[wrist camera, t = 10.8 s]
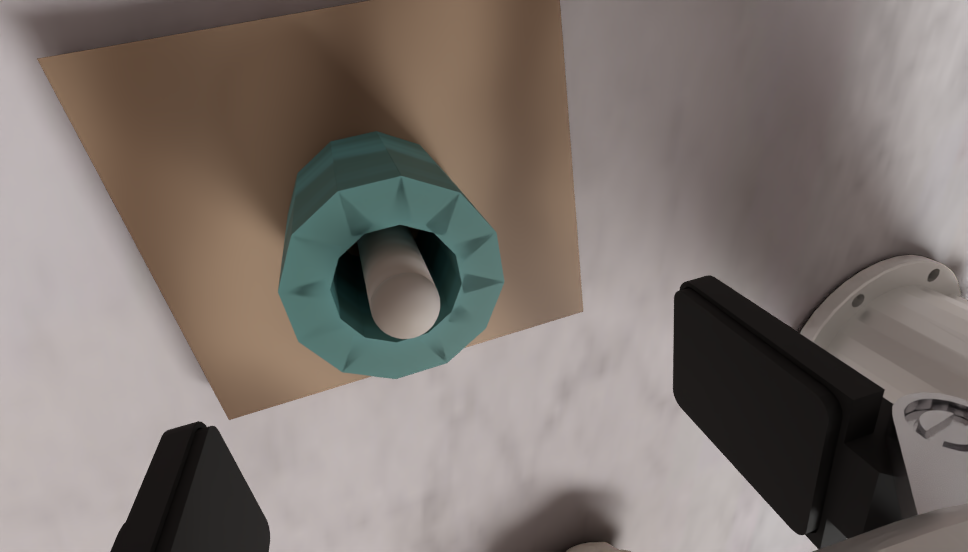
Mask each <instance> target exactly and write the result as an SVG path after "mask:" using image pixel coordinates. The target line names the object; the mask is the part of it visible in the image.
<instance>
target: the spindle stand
mask: <svg viewBox="0 0 968 552" xmlns="http://www.w3.org/2000/svg"><path fill="white" fill-rule="evenodd" d="M37 60H38V61H39V63H40V65H41V67H42V69H43V71H44V73H45V75H46V76H47V78H48V80H49V82H50V84H51V86H52V88H53V90H54V92H55V93H56V95H57V97H58V99H59V101H60V103H61V105H62V107H63V108H64V110H65V112H66V114H67V116H68V118H69V120H70V122H71V124H72V125H73V127H74V129H75V131H76V133H77V135H78V137H79V139H80V140H81V142H82V144H83V146H84V148H85V150H86V152H87V154H88V156H89V157H90V159H91V161H92V163H93V165H94V167H95V169H96V171H97V172H98V174H99V176H100V178H101V180H102V182H103V184H104V186H105V188H106V189H107V191H108V193H109V195H110V197H111V199H112V201H113V203H114V204H115V206H116V208H117V210H118V212H119V214H120V216H121V218H122V220H123V221H124V223H125V225H126V227H127V229H128V231H129V233H130V235H131V236H132V238H133V240H134V242H135V244H136V246H137V248H138V250H139V251H140V253H141V255H142V257H143V259H144V261H145V263H146V265H147V267H148V268H149V270H150V272H151V274H152V276H153V278H154V280H155V282H156V283H157V285H158V287H159V289H160V291H161V293H162V295H163V297H164V299H165V300H166V302H167V304H168V306H169V308H170V310H171V312H172V314H173V315H174V317H175V319H176V321H177V323H178V325H179V327H180V329H181V331H182V332H183V334H184V336H185V338H186V340H187V342H188V344H189V346H190V347H191V349H192V351H193V353H194V355H195V357H196V359H197V361H198V363H199V364H200V366H201V368H202V370H203V372H204V374H205V376H206V378H207V379H208V381H209V383H210V385H211V387H212V389H213V391H214V393H215V395H216V396H217V398H218V400H219V402H220V404H221V406H222V408H223V410H224V411H225V413H226V415H227V417H228V419H229V420H231V419H234V418H237V417H241V416H244V415H247V414H250V413H254V412H257V411H260V410H263V409H267V408H270V407H273V406H276V405H280V404H283V403H286V402H289V401H293V400H296V399H299V398H303V397H306V396H309V395H312V394H316V393H319V392H322V391H325V390H329V389H332V388H335V387H338V386H342V385H345V384H348V383H351V382H355V381H358V380H361V379H364V378H368V377H371V376H367V375H359V374H351V373H343V372H341V371H339V370H338V369H337V368H335V367H334V366H332V365H331V364H329V363H328V362H327V361H325V360H324V359H322V358H321V357H319V356H318V355H316V354H315V353H314V352H312V351H311V350H309V349H308V348H306V347H305V346H303V345H302V344H301V343H299V342H298V340H297V338H296V335H295V333H294V330H293V328H292V325H291V323H290V321H289V318H288V316H287V313H286V311H285V308H284V306H283V303H282V301H281V299H280V296H279V294H278V286H279V279H280V271H281V263H282V255H283V247H284V239H285V232H286V224H287V216H288V212H289V207H290V203H291V199H292V194H293V190H294V186H295V181H296V177H297V173H298V172H299V171H300V170H301V169H302V168H303V167H304V166H306V165H307V164H308V163H309V162H310V161H311V160H312V159H313V158H314V157H315V156H316V155H317V154H318V153H319V152H320V151H321V150H322V149H323V148H324V147H325V146H326V145H327V144H328V143H329V142H331V141H335V140H339V139H344V138H348V137H352V136H357V135H361V134H366V133H370V132H375V131H378V132H381V133H384V134H387V135H390V136H394V137H397V138H400V139H403V140H406V141H410V142H413V143H416V144H419V145H421V147H422V148H423V149H424V150H425V151H426V152H427V153H428V154H429V155H430V156H431V158H432V159H433V160H434V161H435V162H436V163H437V164H438V165H439V166H440V167H441V169H442V170H443V171H444V172H445V173H446V174H447V175H448V176H449V177H450V179H451V180H452V181H453V182H454V183H455V184H456V186H457V187H458V188H459V189H460V190H461V191H462V193H463V194H464V195H465V196H466V197H467V198H468V200H469V201H470V202H471V203H472V204H473V206H474V207H475V208H476V209H477V210H478V211H479V213H480V214H481V215H482V216H483V217H484V218H485V220H486V221H487V222H488V223H489V224H490V225H491V227H492V228H493V229H494V230H495V231H496V232H497V238H498V244H499V251H500V257H501V263H502V269H503V275H504V285H503V287H502V290H501V292H500V295H499V297H498V300H497V302H496V305H495V307H494V310H493V312H492V315H491V317H490V320H489V322H488V325H487V327H486V329H485V330H484V331H483V332H482V333H480V334H479V335H478V336H477V337H476V338H475V339H474V340H472V341H471V342H470V343H469V344H468V345H467V346H466V347H469V346H472V345H475V344H479V343H482V342H485V341H488V340H492V339H495V338H498V337H501V336H505V335H508V334H511V333H514V332H518V331H521V330H524V329H528V328H531V327H534V326H537V325H541V324H544V323H547V322H550V321H554V320H557V319H560V318H563V317H567V316H570V315H573V314H576V313H580V312H583V302H582V289H581V275H580V262H579V249H578V236H577V222H576V209H575V196H574V183H573V169H572V156H571V143H570V130H569V116H568V103H567V90H566V76H565V63H564V50H563V37H562V23H561V10H560V0H369V1H363V2H357V3H352V4H346V5H340V6H335V7H329V8H323V9H318V10H312V11H306V12H301V13H295V14H289V15H283V16H278V17H272V18H266V19H261V20H255V21H249V22H244V23H238V24H232V25H227V26H221V27H215V28H210V29H204V30H198V31H192V32H187V33H181V34H175V35H170V36H164V37H158V38H153V39H147V40H141V41H136V42H130V43H124V44H118V45H113V46H107V47H101V48H96V49H90V50H84V51H79V52H73V53H67V54H62V55H56V56H50V57H44V58H39V59H37ZM418 231H419V229H416V228H412V227H408V226H404V225H396V226H393V227H389V228H385V229H381V230H377V231H373V232H369V233H366V234H364V235H363V236H362V237H361V238H360V239H359V240H357V241H356V242H355V243H354V244H353V245H352V246H351V247H350V248H349V249H348V250H347V251H348V252H349V253H350V254H351V255H355V256H360V259H361V264H362V269H363V274H364V280H365V285H366V290H367V295H368V300H369V305H370V310H371V314H372V317H373V319H374V321H375V323H376V324H377V326H378V327H379V328H380V329H381V330H382V331H383V332H385V333H386V334H388V335H390V336H392V337H395V338H399V339H411V338H415V337H418V336H420V335H422V334H424V333H425V332H427V331H428V330H429V329H430V328H431V327H432V326H433V325H434V323H435V321H436V320H437V317H438V315H439V311H440V297H439V294H438V291H437V288H436V286H435V284H434V282H433V280H432V277H431V275H430V273H429V271H428V269H427V266H426V264H425V262H424V260H423V258H422V256H421V253H420V251H419V249H418V247H417V245H416V242H415V240H414V239H415V238H416V237H417V234H418ZM466 347H465V348H466Z"/></svg>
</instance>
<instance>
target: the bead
mask: <svg viewBox="0 0 968 552" xmlns="http://www.w3.org/2000/svg"><path fill="white" fill-rule="evenodd" d="M396 225H404V226H408V227H412V228H416V229H419V231H418V234H417V237H416V238H415V239H414V240H415V242H416V245H417V247H418V249H419V251H420V253H421V256H422V258H423V260H424V262H425V264H426V266H427V269H428V271H429V273H430V275H431V277H432V280H433V282H434V284H435V286H436V288H437V291H438V294H439V297H440V311H439V315H438V317H437V320H436V321H435V323H434V325H433V326H432V327H431V328H430V329H429V330H428V331H427V332H425V333H424V334H422V335H420V336H418V337H415V338H411V339H399V338H395V337H392V336H390V335H388V334H386V333H385V332H383V331H382V330H381V329H380V328H379V327H378V326H377V324H376V323H375V321H374V319H373V317H372V314H371V310H370V305H369V300H368V295H367V290H366V285H365V280H364V274H363V269H362V264H361V259H360V256H355V255H351V254H350V253H349V252H348V251H347V250H348V249H349V248H350V247H351V246H352V245H353V244H354V243H355V242H356V241H357V240H359V239H360V238H361V237H362V236H363V235H364V234H366V233H369V232H373V231H377V230H381V229H385V228H389V227H393V226H396ZM503 285H504V275H503V269H502V263H501V257H500V251H499V244H498V238H497V232H496V231H495V230H494V229H493V228H492V227H491V225H490V224H489V223H488V222H487V221H486V220H485V218H484V217H483V216H482V215H481V214H480V213H479V211H478V210H477V209H476V208H475V207H474V206H473V204H472V203H471V202H470V201H469V200H468V198H467V197H466V196H465V195H464V194H463V193H462V191H461V190H460V189H459V188H458V187H457V186H456V184H455V183H454V182H453V181H452V180H451V179H450V177H449V176H448V175H447V174H446V173H445V172H444V171H443V170H442V169H441V167H440V166H439V165H438V164H437V163H436V162H435V161H434V160H433V159H432V158H431V156H430V155H429V154H428V153H427V152H426V151H425V150H424V149H423V148H422V147H421V145H419V144H416V143H413V142H410V141H406V140H403V139H400V138H397V137H394V136H390V135H387V134H384V133H381V132H378V131H375V132H370V133H366V134H361V135H357V136H352V137H348V138H344V139H339V140H335V141H331V142H329V143H328V144H327V145H326V146H325V147H324V148H323V149H322V150H321V151H320V152H319V153H318V154H317V155H316V156H315V157H314V158H313V159H312V160H311V161H310V162H309V163H308V164H307V165H306V166H304V167H303V168H302V169H301V170H300V171H299V172H298V173H297V177H296V181H295V186H294V190H293V194H292V199H291V203H290V207H289V212H288V216H287V224H286V232H285V239H284V247H283V255H282V263H281V271H280V279H279V286H278V294H279V296H280V299H281V301H282V303H283V306H284V308H285V311H286V313H287V316H288V318H289V321H290V323H291V325H292V328H293V330H294V333H295V335H296V338H297V340H298V342H299V343H301V344H302V345H303V346H305V347H306V348H308V349H309V350H311V351H312V352H314V353H315V354H316V355H318V356H319V357H321V358H322V359H324V360H325V361H327V362H328V363H329V364H331V365H332V366H334V367H335V368H337V369H338V370H339V371H341V372H343V373H351V374H359V375H367V376H375V377H384V378H392V379H398V378H401V377H404V376H407V375H410V374H414V373H417V372H420V371H423V370H426V369H430V368H433V367H436V366H439V365H442V364H445V363H448V362H449V361H450V360H451V359H452V358H453V357H454V356H456V355H457V354H458V353H459V352H460V351H461V350H462V349H463V348H465V347H466V346H467V345H468V344H469V343H470V342H471V341H472V340H474V339H475V338H476V337H477V336H478V335H479V334H480V333H482V332H483V331H484V330H485V329H486V327H487V325H488V322H489V320H490V317H491V315H492V312H493V310H494V307H495V305H496V302H497V300H498V297H499V295H500V292H501V290H502V287H503Z"/></svg>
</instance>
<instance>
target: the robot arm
mask: <svg viewBox="0 0 968 552" xmlns="http://www.w3.org/2000/svg"><path fill="white" fill-rule="evenodd" d="M673 393H674V396H675V399H676V401H677V403H678V405H679V406H680V407H681V408H682V409H683V411H684V412H685V413H686V414H687V415H688V416H689V417H690V418H691V419H692V420H693V422H694V423H695V424H696V425H697V426H698V427H699V428H700V429H701V430H702V431H703V433H704V434H705V435H706V436H707V437H708V438H709V439H710V440H711V441H712V442H713V444H714V445H715V446H716V447H717V448H718V449H719V450H720V451H721V452H722V453H723V455H724V456H725V457H726V458H727V459H728V460H729V461H730V462H731V463H732V464H733V465H734V467H735V468H736V469H737V470H738V471H739V472H740V473H741V474H742V475H743V476H744V478H745V479H746V480H747V481H748V482H749V483H750V484H751V485H752V486H753V487H754V489H755V490H756V491H757V492H758V493H759V494H760V495H761V496H762V497H763V498H764V500H765V501H766V502H767V503H768V504H769V505H770V506H771V507H772V508H773V509H774V511H775V512H776V513H777V514H778V515H779V516H780V517H781V518H782V519H783V520H784V522H785V523H786V524H787V525H788V526H789V527H790V528H791V529H792V530H793V531H794V532H796V533H797V534H799V535H804V534H805V535H806V536H807V537H808V538H809V539H810V540H811V542H812V543H813V544H814V545H815V546H816V547H817V548H818V549H819V550H816V551H813V552H968V300H966V299H964V298H961V291H960V287H959V283H958V280H957V278H956V276H955V275H954V273H953V272H952V270H950V269H949V268H948V267H946V266H945V265H944V264H942V263H939V262H937V261H934V260H931V259H929V258H926V257H924V256H916V255H905V256H896V257H893V258H890V259H887V260H884V261H880V262H878V263H876V264H874V265H872V266H870V267H868V268H866V269H864V270H862V271H860V272H859V273H857V274H856V275H854V276H853V277H851V278H850V279H849V280H847V281H846V282H844V283H843V284H842V285H841V286H840V287H838V288H837V289H836V290H835V291H834V292H833V293H832V294H830V295H829V296H828V297H827V298H826V299H825V301H824V302H823V303H822V304H821V305H820V306H819V307H818V308H817V309H816V310H815V312H814V313H813V314H812V316H811V317H810V318H809V320H808V321H807V323H806V324H805V325H804V327H803V328H802V330H801V332H800V333H798V332H797V331H795V330H794V329H792V328H791V327H789V326H788V325H786V324H785V323H783V322H782V321H780V320H779V319H777V318H776V317H774V316H773V315H771V314H770V313H768V312H767V311H765V310H764V309H762V308H760V307H759V306H757V305H756V304H754V303H753V302H751V301H750V300H748V299H747V298H745V297H744V296H742V295H741V294H739V293H738V292H736V291H735V290H733V289H732V288H730V287H729V286H727V285H726V284H724V283H723V282H721V281H720V280H718V279H716V278H715V277H713V276H704V277H701V278H697V279H694V280H690V281H687V282H684V283H683V284H682V285H681V287H680V291H677V292H676V293H675V296H674V355H673ZM269 545H270V530H269V525H268V522H267V520H266V518H265V516H264V514H263V512H262V510H261V508H260V507H259V505H258V503H257V501H256V499H255V497H254V495H253V494H252V492H251V490H250V488H249V486H248V484H247V482H246V481H245V479H244V477H243V475H242V473H241V471H240V469H239V468H238V466H237V464H236V462H235V460H234V458H233V456H232V455H231V453H230V451H229V449H228V447H227V445H226V443H225V442H224V440H223V438H222V436H221V434H220V432H219V431H218V429H217V428H216V427H215V426H210V427H206V425H205V424H204V423H202V422H199V421H198V422H195V423H191V424H188V425H184V426H181V427H177V428H174V429H170V430H167V431H166V432H164V434H163V435H162V437H161V440H160V442H159V444H158V447H157V449H156V452H155V454H154V456H153V459H152V461H151V463H150V466H149V468H148V471H147V473H146V475H145V478H144V480H143V482H142V485H141V487H140V490H139V492H138V494H137V497H136V499H135V501H134V504H133V506H132V509H131V511H130V513H129V516H128V518H127V520H126V523H124V524H123V526H122V528H121V529H120V531H119V533H118V535H117V537H116V540H115V542H114V544H113V547H112V549H111V551H110V552H269Z"/></svg>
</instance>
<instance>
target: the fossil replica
mask: <svg viewBox="0 0 968 552" xmlns="http://www.w3.org/2000/svg"><path fill="white" fill-rule="evenodd" d="M566 552H631V551H627V550H618V549H616V548H614V547H612V546H611V545H610V544H608V543H606V542H588V543H583V544H579V545H576V546H574V547H572V548H569V549H568V550H567V551H566Z"/></svg>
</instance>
